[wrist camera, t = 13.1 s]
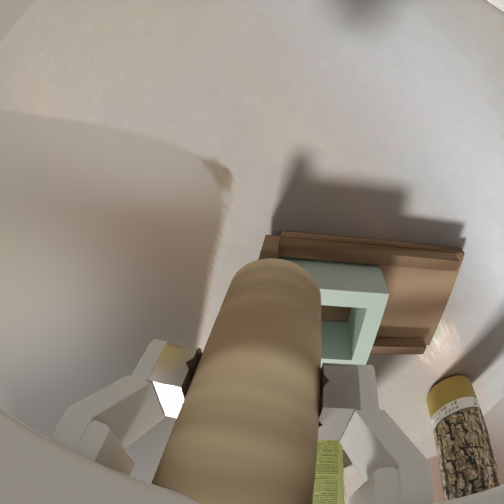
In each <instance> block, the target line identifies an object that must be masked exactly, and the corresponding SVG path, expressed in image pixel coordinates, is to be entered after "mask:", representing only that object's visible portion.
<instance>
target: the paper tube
mask: <svg viewBox="0 0 504 504" xmlns="http://www.w3.org/2000/svg"><path fill="white" fill-rule="evenodd" d="M427 404H428V409H429V413H430V417H431V423H432V428H433V432H434V438H435V443H436V448H437V454H438V460H439V466H440V472H441V480H442V487H443V494H444V501H447V500H451V499H455V498H460V497H464V496H467V495H471V494H475V493H478V492H482V491H485V490H488V489H491V488H495V487H498V486H501V484H500V479H499V474H498V470H497V465H496V461H495V457H494V453H493V449H492V445H491V442H490V438H489V435H488V431H487V428H486V425H485V421H484V418H483V415H482V412H481V409H480V406H479V403H478V400H477V397H476V395H475V392H474V389H473V386H472V383H471V381H470V379H469V378H468V377H466V376H463V375H455V376H451V377H448V378H446V379H444V380H442V381H440V382H439V383H437V384H436V385H435V386H434V387H433V388H432V389H431V390H430V392H429V393H428V396H427Z"/></svg>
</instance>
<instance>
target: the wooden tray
mask: <svg viewBox="0 0 504 504" xmlns="http://www.w3.org/2000/svg"><path fill="white" fill-rule="evenodd" d="M463 256H464V252H463V251H462V250H461V248H454V247H445V246H436V245H427V244H417V243H408V242H398V241H388V240H378V239H368V238H357V237H346V236H335V235H324V234H312V233H300V232H288V231H281V236H276V235H266V236H265V240H264V243H263V246H262V250H261V253H260V257H259V260H261V259H269V258H274V259H278V257H291V258H302V259H314V260H326V261H338V262H349V263H361V264H373V265H379V266H380V269H381V272H382V274H383V277H384V280H385V283H386V286H387V289H388V292H389V297H388V300H387V303H386V307H385V310H384V313H383V317H382V320H381V323H380V326H379V329H378V332H377V335H376V338H375V341H374V344H373V347H372V349H371V352H370V353H372V354H423V353H424V351H425V349H426V345H429V344H430V342H431V339H432V337H433V335H434V333H435V331H436V328H437V326H438V324H439V321H440V319H441V317H442V314H443V312H444V309H445V307H446V304H447V302H448V299H449V297H450V294H451V291H452V289H453V286H454V283H455V280H456V277H457V275H458V272H459V269H460V266H461V263H462V260H463ZM350 310H351V307H340V306H327V305H321V321H333V322H348V319H349V315H350Z"/></svg>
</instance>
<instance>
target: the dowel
mask: <svg viewBox="0 0 504 504" xmlns="http://www.w3.org/2000/svg"><path fill="white" fill-rule="evenodd" d="M320 373H321V293H320V289H319V286H318V284H317V282H316V280H315V279H314V278H313V276H312V275H311V274H310V273H309V272H308V271H307V270H305V269H304V268H303V267H301V266H299V265H297V264H295V263H293V262H290V261H287V260H283V259H274V258H269V259H261V260H257V261H254V262H251V263H249V264H247V265H245V266H244V267H242V268H241V269H240V270H239V271H238V272H237V273H236V274H235V276H234V277H233V279H232V281H231V283H230V286H229V288H228V291H227V293H226V296H225V298H224V301H223V303H222V306H221V308H220V311H219V313H218V316H217V318H216V321H215V323H214V326H213V328H212V331H211V333H210V336H209V338H208V341H207V343H206V346H205V348H204V351H203V353H202V356H201V358H200V361H199V363H198V366H197V369H196V371H195V374H194V376H193V379H192V381H191V384H190V386H189V389H188V391H187V394H186V396H185V399H184V401H183V404H182V407H181V409H180V412H179V414H178V417H177V419H176V422H175V424H174V427H173V430H172V432H171V435H170V437H169V440H168V442H167V445H166V448H165V450H164V453H163V455H162V458H161V460H160V463H159V465H158V468H157V471H156V473H155V476H154V479H153V481H152V484H154V485H157V486H161V487H164V488H167V489H171V490H173V491H176V492H178V493H180V494H182V495H184V496H186V497H188V498H190V499H191V500H193V501H195V502H197V503H199V504H312V502H313V492H314V482H315V470H316V458H317V444H318V428H319V402H320Z"/></svg>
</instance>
